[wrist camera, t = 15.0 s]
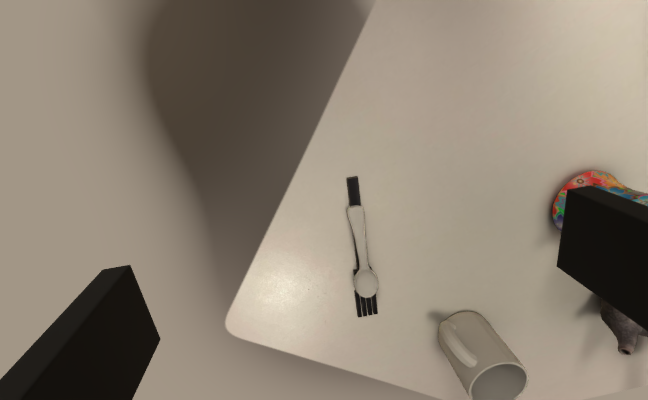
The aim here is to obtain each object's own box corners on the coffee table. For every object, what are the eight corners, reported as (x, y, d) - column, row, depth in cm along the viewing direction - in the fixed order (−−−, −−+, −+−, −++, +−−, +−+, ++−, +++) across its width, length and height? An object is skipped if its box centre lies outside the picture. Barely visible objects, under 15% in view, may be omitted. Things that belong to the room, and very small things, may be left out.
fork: (340, 178, 37) (340, 180, 37) (363, 175, 38) (364, 176, 37) (357, 315, 44) (358, 317, 44) (376, 311, 44) (377, 314, 44)
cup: (460, 358, 49) (495, 416, 41) (412, 327, 46) (439, 383, 38) (496, 325, 47) (540, 378, 39) (449, 291, 44) (486, 341, 36)
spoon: (355, 294, 42) (358, 304, 40) (340, 206, 39) (342, 211, 37) (377, 290, 42) (382, 299, 41) (365, 201, 39) (369, 206, 37)
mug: (588, 150, 39) (690, 176, 29) (629, 193, 42) (735, 231, 32) (513, 226, 42) (583, 273, 32) (556, 262, 45) (633, 316, 35)
